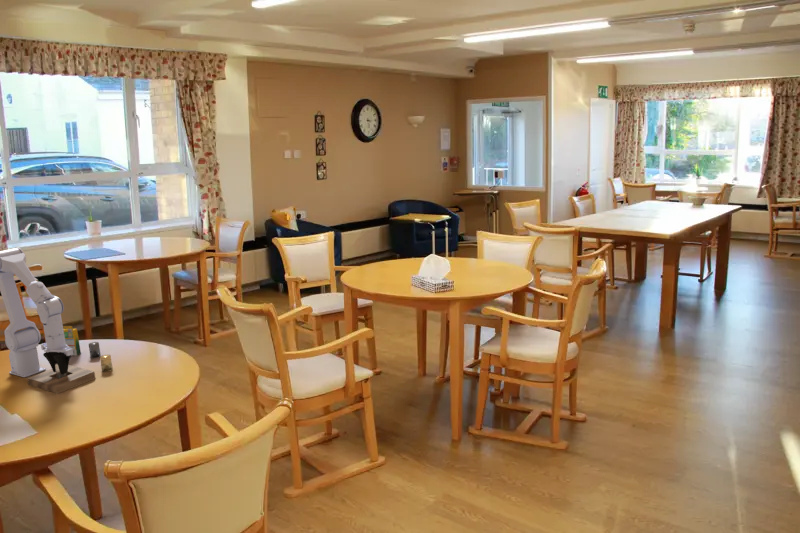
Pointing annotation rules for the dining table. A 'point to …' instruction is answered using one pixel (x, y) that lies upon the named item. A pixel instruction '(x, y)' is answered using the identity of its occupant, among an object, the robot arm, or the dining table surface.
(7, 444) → the dining table surface
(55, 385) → the socket board
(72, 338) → the crayon box
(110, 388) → the dining table surface
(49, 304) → the robot arm
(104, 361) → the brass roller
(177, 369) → the dining table surface
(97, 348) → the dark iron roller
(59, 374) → the steel roller
